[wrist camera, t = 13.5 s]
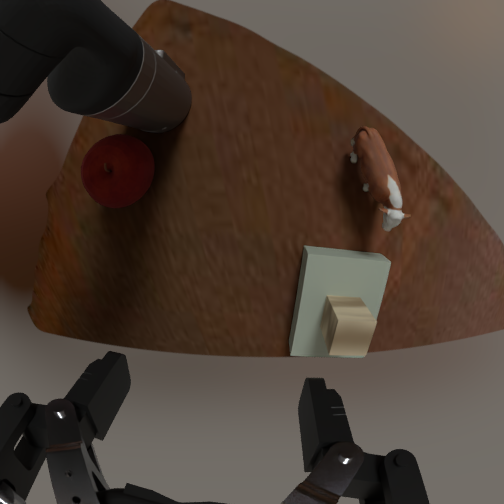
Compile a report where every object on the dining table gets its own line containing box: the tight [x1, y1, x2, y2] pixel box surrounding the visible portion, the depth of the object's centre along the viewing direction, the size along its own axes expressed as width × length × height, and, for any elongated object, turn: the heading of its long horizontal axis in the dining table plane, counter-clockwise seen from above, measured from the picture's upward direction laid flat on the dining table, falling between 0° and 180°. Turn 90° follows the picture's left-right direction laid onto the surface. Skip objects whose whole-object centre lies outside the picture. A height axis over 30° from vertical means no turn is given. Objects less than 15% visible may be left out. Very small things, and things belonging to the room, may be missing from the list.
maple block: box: [320, 295, 377, 356], centre depth 35 cm, size 5×5×7 cm
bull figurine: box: [350, 126, 411, 231], centre depth 33 cm, size 4×13×8 cm, turn 19°
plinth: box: [289, 246, 391, 358], centre depth 40 cm, size 16×12×4 cm
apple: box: [81, 134, 155, 208], centre depth 33 cm, size 10×10×10 cm
